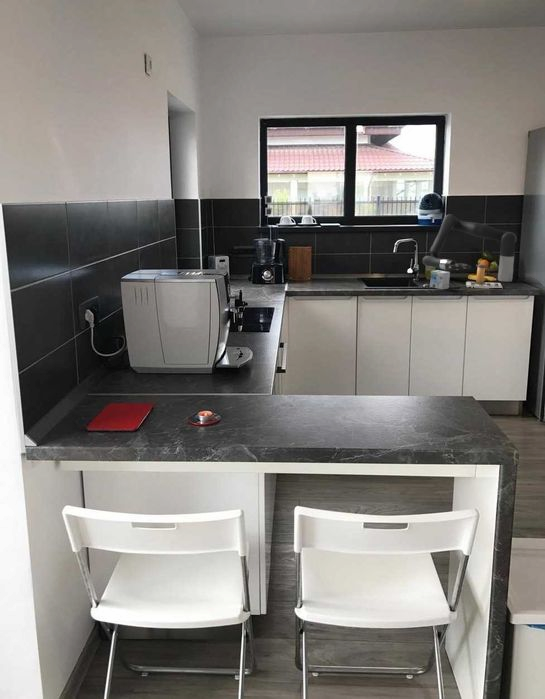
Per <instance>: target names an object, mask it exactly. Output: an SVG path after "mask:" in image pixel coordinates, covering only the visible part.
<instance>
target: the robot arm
mask: <svg viewBox="0 0 545 699" xmlns="http://www.w3.org/2000/svg"><path fill="white" fill-rule="evenodd" d="M451 230H452V231H459V232H462V233H465V234H468V235H470V236H474V237H476V238H479V239H485V240H495V241H497V242H500V249H499V252H500V254H499V261H498V262H499V264H498V273H497V281H499V282H513V277H514V276H513V274H514V262H515V248H516V242H517V241H518V240H517V239H518V238H517V235H516V233H515V232H512V231H507V230H502V229H497V228H494V227H492V226H490V225H486V224H482V223H480V222H476V221H475V222H474V221H473V222H472V221H464V220H461V219H458V218H457V217H456V216H455V215H454V214H452V213H449V214H447V215H445V216H444V218H443V220H442V223H441V225H440V228H439V230H438V233H437V235H436V237H435V239H434V241H433V244H431V247H430V249H429V253H430V255H425V256H423V257H422V265H424V266H425V267H427V266H433V268H436V269H437V270H439V269H441V270H442V271H447V272H454V271H464V270H465V269H467V270H472V267H473V266H472V265H469V264H468V263H463V262H462V263H458V262H457V261H456V260H454V259H448V258H447V259H446V258H439V257H440V256H439V255H440V253H441V251H442V249H443V247H444V244H445V242H446V239H447V236H448V235H449V232H450V231H451Z"/></svg>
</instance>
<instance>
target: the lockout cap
mask: <svg viewBox="0 0 545 699" xmlns="http://www.w3.org/2000/svg"><path fill="white" fill-rule="evenodd" d="M485 273H486V264H479V263H478V264H477V270H476V279H475V280H476V281H475V282H476V283H482V284H483V283H484V281H485V275H486V274H485Z"/></svg>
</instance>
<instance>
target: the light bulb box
mask: <svg viewBox="0 0 545 699" xmlns="http://www.w3.org/2000/svg"><path fill="white" fill-rule="evenodd" d="M450 276H451V271H447V270H439V269H436V270H431V271H430V282H429V288H434V289H439V290H447V289H450V288H449V287H450V278H451V277H450Z"/></svg>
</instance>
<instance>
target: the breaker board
mask: <svg viewBox="0 0 545 699" xmlns="http://www.w3.org/2000/svg"><path fill="white" fill-rule="evenodd" d="M465 285H466V288H469V287H471V288H473V287H474V288H475V289H489V288H502V289H503V286H502V284H501V283H500V282H484V283H483V284H482V283H476V281H466V282H465ZM474 288H473V289H474Z"/></svg>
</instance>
